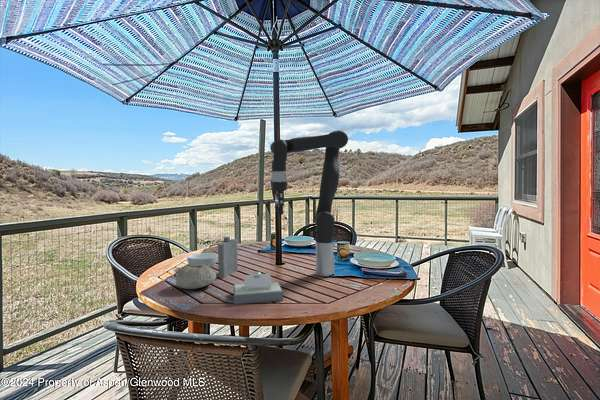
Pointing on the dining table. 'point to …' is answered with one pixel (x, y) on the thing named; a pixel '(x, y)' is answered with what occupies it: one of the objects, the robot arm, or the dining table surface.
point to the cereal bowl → (203, 259)
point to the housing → (257, 281)
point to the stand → (257, 294)
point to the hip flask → (227, 257)
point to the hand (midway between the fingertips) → (279, 213)
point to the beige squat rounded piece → (195, 276)
